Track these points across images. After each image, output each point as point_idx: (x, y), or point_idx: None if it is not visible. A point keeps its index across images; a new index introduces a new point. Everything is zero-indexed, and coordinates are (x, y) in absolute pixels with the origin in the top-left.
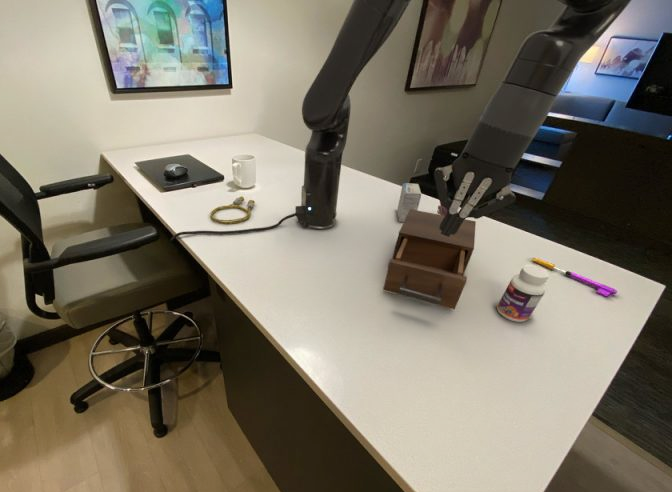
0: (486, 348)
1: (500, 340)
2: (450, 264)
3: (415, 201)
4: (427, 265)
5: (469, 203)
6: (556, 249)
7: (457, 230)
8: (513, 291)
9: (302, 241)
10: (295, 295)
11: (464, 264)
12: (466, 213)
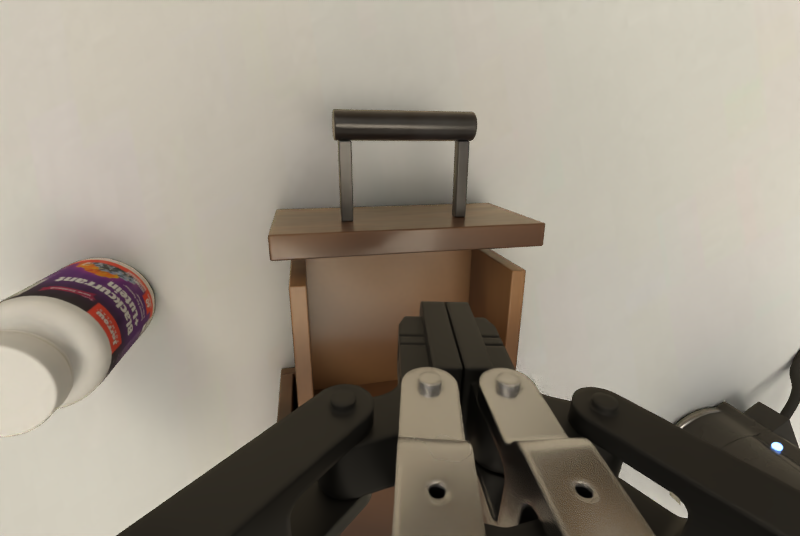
0: (152, 77)
1: (118, 140)
2: None
3: None
4: (390, 381)
5: (450, 440)
6: None
7: (400, 332)
8: (94, 305)
9: (719, 335)
10: (699, 72)
11: (287, 408)
12: (416, 393)
